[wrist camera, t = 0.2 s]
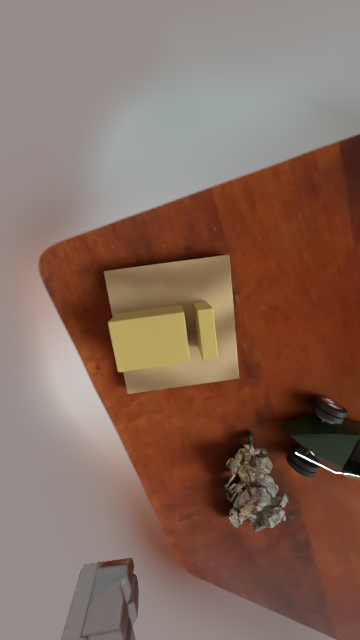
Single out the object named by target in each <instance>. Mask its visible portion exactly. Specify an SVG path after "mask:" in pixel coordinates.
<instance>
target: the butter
mask: <svg viewBox="0 0 360 640" xmlns="http://www.w3.org/2000/svg"><path fill="white" fill-rule="evenodd" d="M108 326H109V331H110V336H111V341H112V346H113V351H114V356H115V361H116V366H117V371H118V372H124V371H131V370H138V369H146V368H153V367H160V366H167V365H175V364H182V363H189V362H190V355H189V347H188V339H187V332H186V324H185V316H184V311H183V307H182V305H175V306H168V307H161V308H153V309H146V310H138V311H131V312H124V313H117V314H116V315H115V316H114V317H113V318H112V319H111V320H110V321H109V322H108Z"/></svg>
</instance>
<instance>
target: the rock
mask: <svg viewBox="0 0 360 640" xmlns="http://www.w3.org/2000/svg"><path fill="white" fill-rule="evenodd" d="M252 439H253V433H252V432H251V433H250V434H249V435H248V445H244V444H243V445H244V446H245V447H244V449H243V448H241V449H239V450H238V452H237V453H236V454H235V455H236V456H235V457H236V458H235V459H234V458H230V459H229V460H228V462H227V463H226V465H227V467H228V468H230V470H231V473H232V474H233V476H232V477H231V478H228V480H227V481H226V486H225V487H224V488H227V489H226V497H227V499H228V498H229V499H228V501H229V503H230V502H233V506H234V508H232V510H231V509H230V510H229V511H230V512H229V513H230V515H231V516H230V517H229V519H230V520H231V522H229V521H228V522H229V523H230V524H232V525H233V526H235V527H238V526H239V524H241V525H242V523H243V520H245V519H246V520H248V522H249V524H250V525H251V524H253V526H254V527H255V528H254V529H255V531H259V530H261V529H264V528H265V527H269V528H273V527H274V526H275V525H277V524H278V523H280V521H281V520H286V518H285V511H284V510H283V508H284V507H285V504H286V503H289V500H288V497H287V494H284V495H283V496H282V497H280V496H277V494H278V493H277V492H278V490H280V489H279V486H278V485H277V484H275V483H274V479H273V478H272V477H271V476H269V475H268V474H267V473H271V469H272V467H273V465H272V461H271V460H270V458H269V457H267V456H266V457H263V456H261V455H260V454H259V453H260V451H262V453H263V454H268V452H267V450H266V449H265V446H263V447H260V448H259V449H258V448H256V449H255V450H254V447H253V445H252ZM246 451H247V452H246ZM236 473H237V474H238V475H239V477H240V480H241V481H239V483H237V484H235V483H234V484H233V485H232V486H231V485H229V483H230V482H231V481H232V480H233V478H234V477H235V475H236ZM228 488H229V489H228ZM227 495H228V496H227ZM230 500H231V501H230ZM238 509H239V510H238ZM225 520H226V519H225Z"/></svg>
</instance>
